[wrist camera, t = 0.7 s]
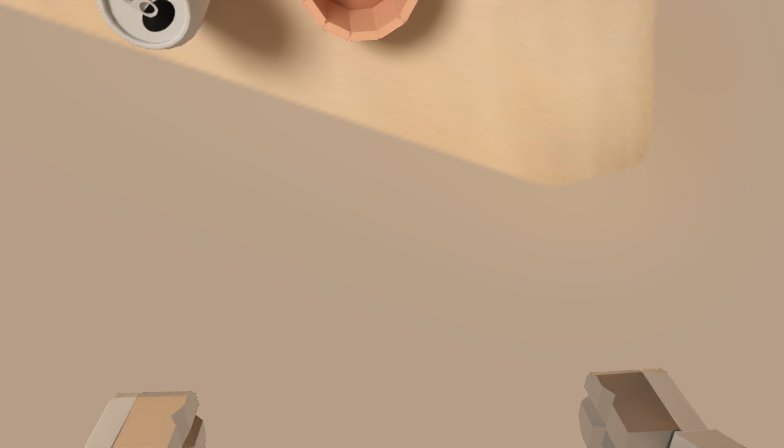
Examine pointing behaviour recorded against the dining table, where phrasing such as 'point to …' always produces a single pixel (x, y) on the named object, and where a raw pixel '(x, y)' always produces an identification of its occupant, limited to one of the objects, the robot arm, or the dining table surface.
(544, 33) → the dining table surface
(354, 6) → the bowl
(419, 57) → the dining table surface
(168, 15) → the can
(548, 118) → the dining table surface
